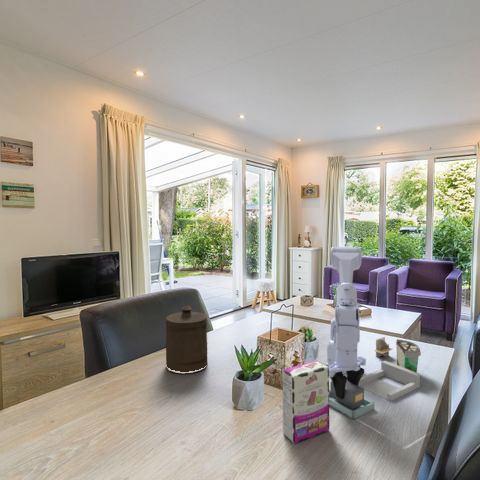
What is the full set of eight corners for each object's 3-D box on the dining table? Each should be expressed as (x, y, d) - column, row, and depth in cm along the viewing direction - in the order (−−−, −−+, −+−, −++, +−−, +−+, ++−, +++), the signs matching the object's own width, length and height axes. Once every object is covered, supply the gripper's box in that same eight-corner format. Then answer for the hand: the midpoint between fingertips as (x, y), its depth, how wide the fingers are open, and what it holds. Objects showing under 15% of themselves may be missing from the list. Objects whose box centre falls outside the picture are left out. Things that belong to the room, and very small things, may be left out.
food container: (425, 383, 110) (426, 353, 110) (404, 381, 112) (405, 351, 111) (414, 367, 122) (414, 339, 122) (395, 366, 124) (396, 338, 123)
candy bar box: (316, 421, 90) (317, 359, 89) (330, 431, 86) (330, 366, 85) (281, 433, 85) (281, 368, 84) (293, 445, 81) (293, 376, 80)
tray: (319, 399, 101) (319, 393, 101) (339, 391, 105) (339, 385, 105) (353, 419, 91) (353, 412, 90) (374, 409, 95) (374, 403, 95)
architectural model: (392, 358, 132) (392, 339, 132) (382, 362, 128) (382, 342, 128) (384, 355, 135) (384, 336, 135) (373, 359, 131) (374, 340, 131)
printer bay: (355, 385, 110) (356, 371, 109) (384, 373, 118) (384, 360, 118) (390, 401, 99) (391, 386, 99) (419, 387, 108) (420, 373, 107)
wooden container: (212, 359, 131) (211, 302, 130) (200, 376, 117) (199, 312, 116) (175, 356, 134) (174, 300, 133) (159, 373, 119) (158, 310, 118)
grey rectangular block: (330, 396, 100) (330, 381, 100) (340, 392, 102) (341, 377, 102) (353, 409, 93) (353, 393, 93) (363, 404, 96) (364, 388, 95)
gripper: (340, 358, 90) (339, 408, 91) (375, 346, 98) (374, 393, 98) (320, 349, 96) (320, 397, 96) (354, 339, 104) (354, 383, 104)
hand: (346, 394), depth 98 cm, fingers open, 5 cm apart
